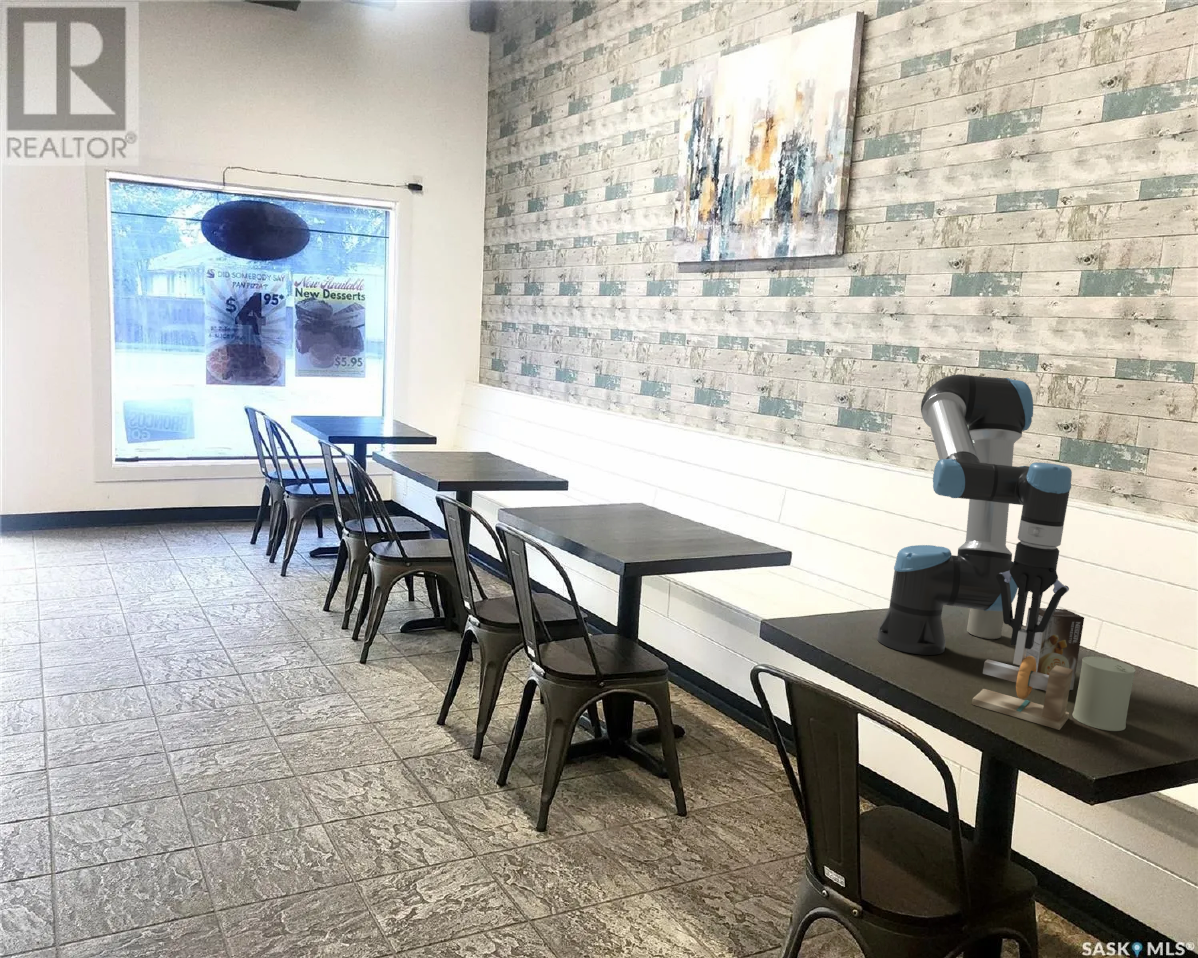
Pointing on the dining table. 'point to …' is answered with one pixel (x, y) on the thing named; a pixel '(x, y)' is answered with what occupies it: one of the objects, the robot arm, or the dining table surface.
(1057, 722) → the pipe stand
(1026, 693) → the ring
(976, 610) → the travel mug
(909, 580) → the robot arm
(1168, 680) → the dining table surface
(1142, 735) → the dining table surface
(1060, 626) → the coffee box
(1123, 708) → the can
